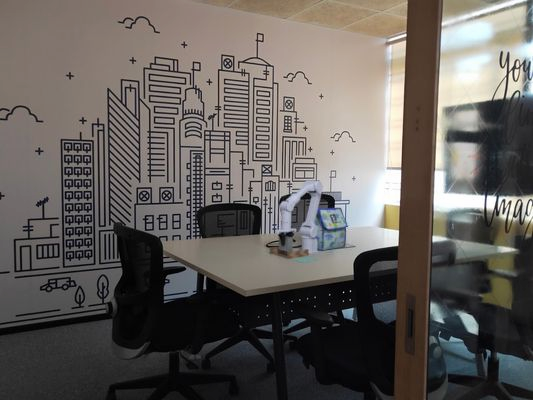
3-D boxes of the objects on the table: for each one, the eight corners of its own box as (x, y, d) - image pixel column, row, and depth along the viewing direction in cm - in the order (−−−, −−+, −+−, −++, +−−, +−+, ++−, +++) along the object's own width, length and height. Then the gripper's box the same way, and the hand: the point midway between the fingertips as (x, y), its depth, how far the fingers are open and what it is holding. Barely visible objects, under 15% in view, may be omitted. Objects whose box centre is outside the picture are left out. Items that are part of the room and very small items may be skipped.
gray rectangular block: (283, 248, 262) (283, 235, 261) (292, 251, 255) (292, 237, 255) (278, 249, 259) (279, 236, 259) (287, 251, 253) (288, 238, 253)
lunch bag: (325, 252, 272) (326, 210, 270) (306, 247, 285) (307, 207, 283) (348, 248, 286) (350, 208, 284) (329, 244, 299) (330, 206, 297)
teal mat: (307, 257, 255) (307, 256, 255) (318, 260, 248) (318, 259, 248) (291, 260, 247) (291, 259, 247) (302, 263, 240) (302, 262, 240)
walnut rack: (290, 251, 271) (290, 245, 270) (308, 256, 258) (308, 249, 258) (270, 254, 261) (270, 247, 260) (288, 259, 248) (288, 252, 248)
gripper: (290, 220, 264) (290, 242, 265) (272, 222, 254) (271, 245, 256) (298, 221, 258) (298, 244, 259) (280, 223, 249) (279, 247, 250)
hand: (285, 245), depth 257 cm, fingers closed on gray rectangular block, 3 cm apart
